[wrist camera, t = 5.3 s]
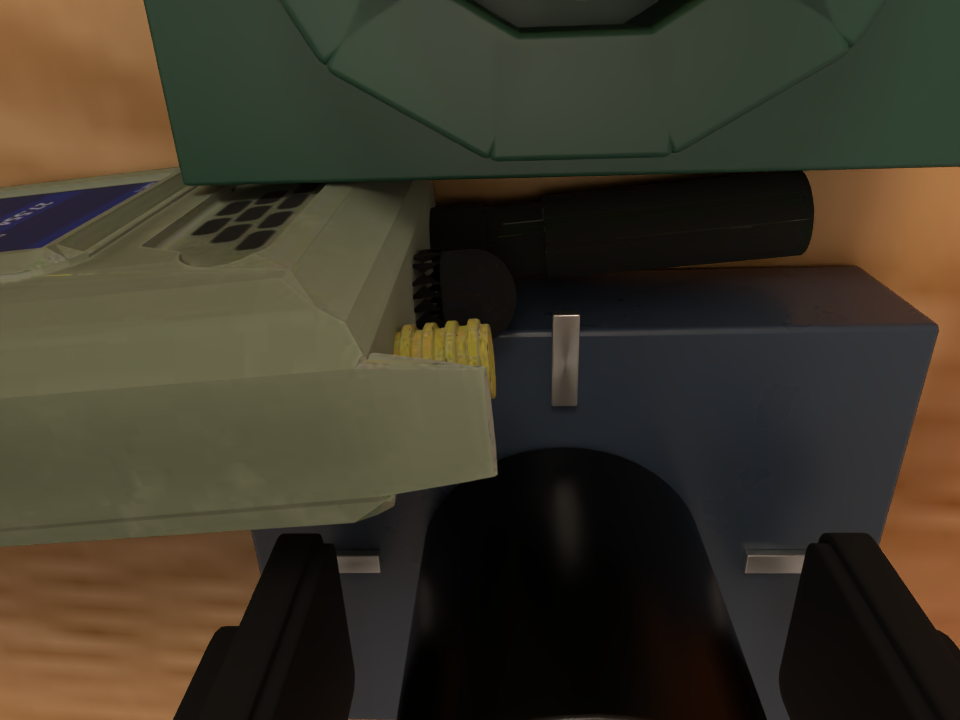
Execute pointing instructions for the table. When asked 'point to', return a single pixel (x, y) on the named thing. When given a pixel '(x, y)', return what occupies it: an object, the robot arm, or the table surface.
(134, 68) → the table surface
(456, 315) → the handheld radio
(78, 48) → the table surface
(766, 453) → the nozzle panel
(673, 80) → the green button base
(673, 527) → the knob
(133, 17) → the table surface
